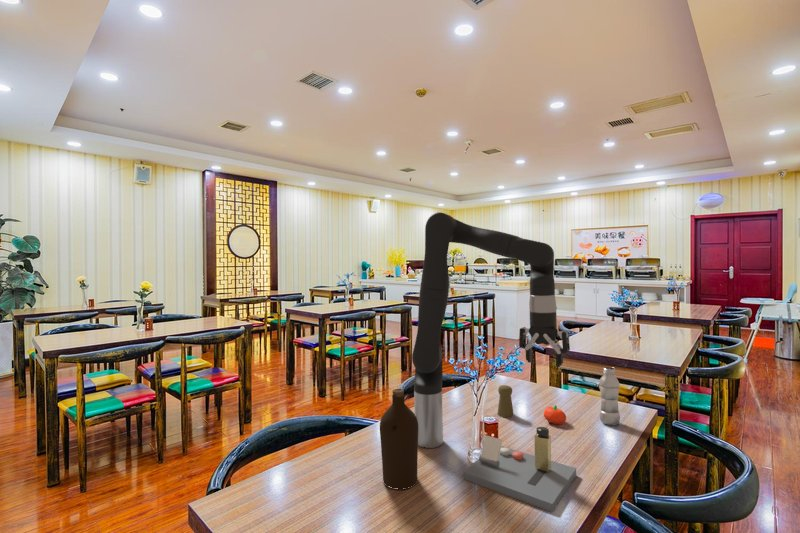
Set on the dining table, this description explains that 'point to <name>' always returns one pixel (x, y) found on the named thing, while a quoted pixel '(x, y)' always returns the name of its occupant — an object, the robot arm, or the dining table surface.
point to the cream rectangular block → (491, 451)
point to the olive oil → (399, 443)
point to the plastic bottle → (609, 397)
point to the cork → (505, 401)
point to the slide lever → (542, 449)
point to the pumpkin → (554, 415)
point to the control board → (523, 478)
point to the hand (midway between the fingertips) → (544, 364)
